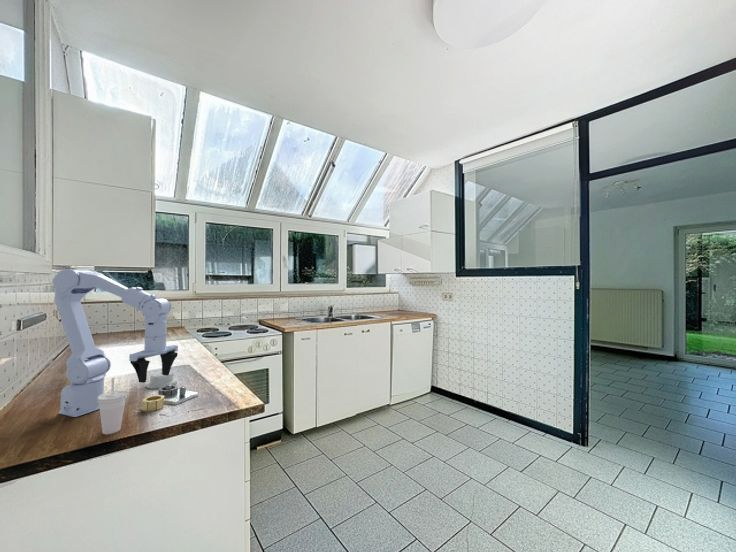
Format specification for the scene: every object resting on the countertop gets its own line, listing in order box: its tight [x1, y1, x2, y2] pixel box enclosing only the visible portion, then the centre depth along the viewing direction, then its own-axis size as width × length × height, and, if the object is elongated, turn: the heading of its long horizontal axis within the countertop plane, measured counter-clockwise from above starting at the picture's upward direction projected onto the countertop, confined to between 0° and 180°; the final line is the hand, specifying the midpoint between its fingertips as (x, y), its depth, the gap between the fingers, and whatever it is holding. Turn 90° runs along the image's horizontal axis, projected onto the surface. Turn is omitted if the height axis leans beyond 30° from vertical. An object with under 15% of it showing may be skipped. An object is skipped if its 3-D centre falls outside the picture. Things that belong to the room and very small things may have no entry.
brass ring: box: [141, 394, 165, 413], centre depth 97 cm, size 6×6×3 cm
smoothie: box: [97, 377, 129, 435], centre depth 82 cm, size 6×6×14 cm
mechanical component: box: [145, 371, 178, 390], centre depth 119 cm, size 10×4×10 cm
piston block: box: [157, 384, 199, 406], centre depth 105 cm, size 9×12×4 cm
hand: (154, 378), depth 97 cm, fingers open, 7 cm apart
